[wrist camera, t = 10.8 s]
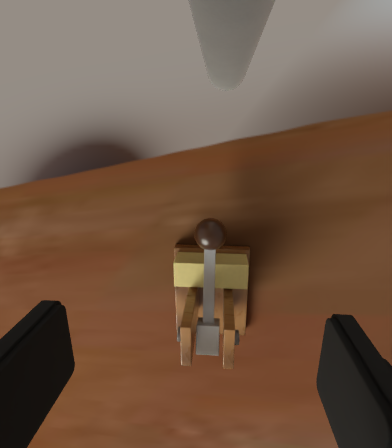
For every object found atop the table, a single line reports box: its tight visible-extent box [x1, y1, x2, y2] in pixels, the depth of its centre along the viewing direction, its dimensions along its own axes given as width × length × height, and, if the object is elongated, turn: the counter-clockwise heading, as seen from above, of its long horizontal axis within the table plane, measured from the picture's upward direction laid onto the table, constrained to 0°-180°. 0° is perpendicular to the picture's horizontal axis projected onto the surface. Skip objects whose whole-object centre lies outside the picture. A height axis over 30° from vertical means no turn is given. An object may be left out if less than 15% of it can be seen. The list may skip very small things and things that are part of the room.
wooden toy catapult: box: [174, 244, 250, 369], centre depth 32 cm, size 12×9×11 cm
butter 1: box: [174, 252, 204, 288], centre depth 33 cm, size 3×4×3 cm
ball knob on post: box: [194, 218, 227, 356], centre depth 28 cm, size 13×3×3 cm, turn 1°
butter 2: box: [215, 253, 249, 289], centre depth 33 cm, size 3×4×3 cm
